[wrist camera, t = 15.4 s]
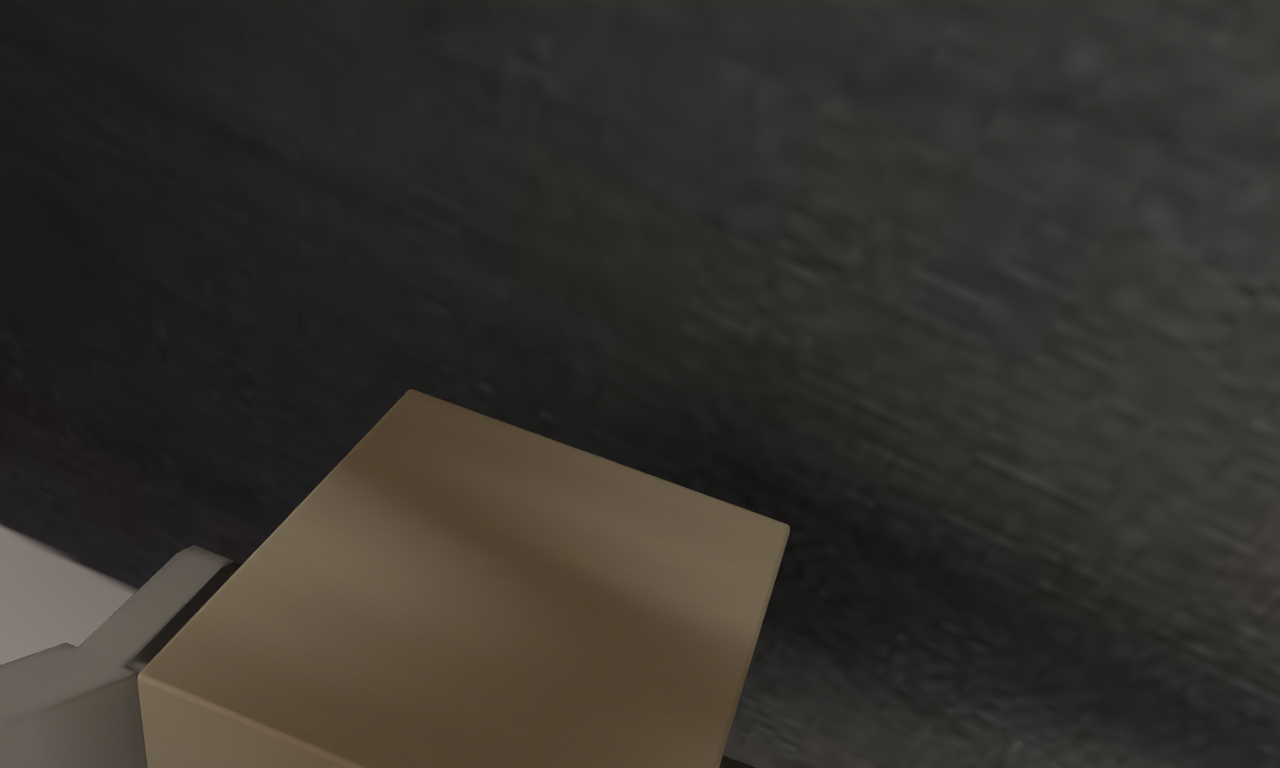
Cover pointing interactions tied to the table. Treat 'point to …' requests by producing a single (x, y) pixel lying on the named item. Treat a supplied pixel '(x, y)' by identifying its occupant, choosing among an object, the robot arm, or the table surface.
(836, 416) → the table surface
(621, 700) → the block
